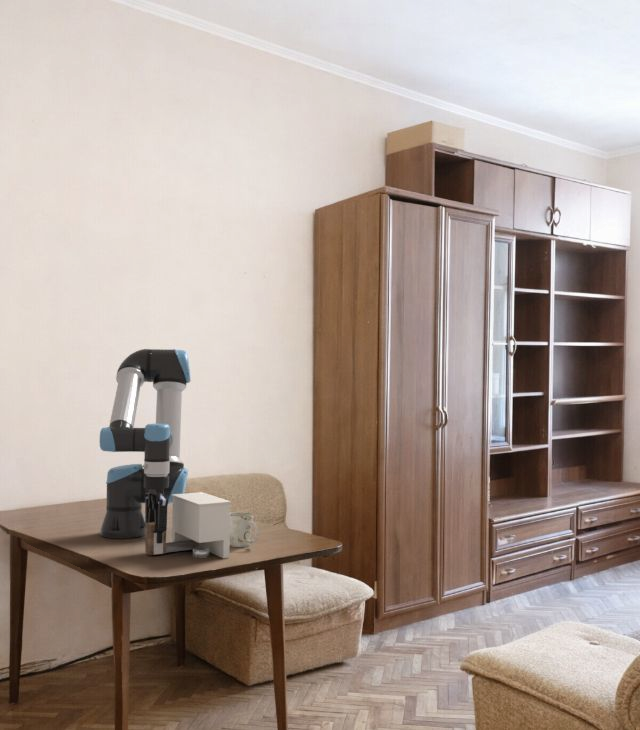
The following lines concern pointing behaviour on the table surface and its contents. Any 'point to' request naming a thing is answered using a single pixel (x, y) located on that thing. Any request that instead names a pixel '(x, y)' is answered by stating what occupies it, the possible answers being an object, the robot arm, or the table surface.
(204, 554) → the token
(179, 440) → the robot arm
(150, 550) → the blade tool
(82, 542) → the table surface
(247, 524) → the mug
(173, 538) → the cabinet
